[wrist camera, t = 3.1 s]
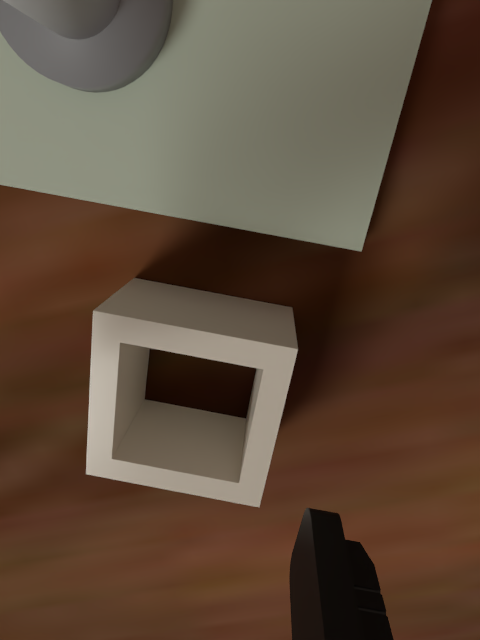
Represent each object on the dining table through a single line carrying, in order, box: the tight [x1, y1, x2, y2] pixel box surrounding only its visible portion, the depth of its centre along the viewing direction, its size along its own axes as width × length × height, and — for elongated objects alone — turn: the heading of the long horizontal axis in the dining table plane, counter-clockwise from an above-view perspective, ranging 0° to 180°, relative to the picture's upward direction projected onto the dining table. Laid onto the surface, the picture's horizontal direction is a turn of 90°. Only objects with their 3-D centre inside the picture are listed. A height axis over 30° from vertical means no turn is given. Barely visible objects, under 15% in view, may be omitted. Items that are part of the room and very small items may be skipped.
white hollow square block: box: [86, 278, 298, 507], centre depth 16 cm, size 6×6×4 cm
